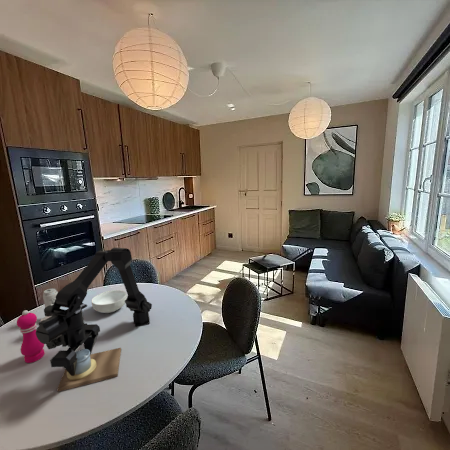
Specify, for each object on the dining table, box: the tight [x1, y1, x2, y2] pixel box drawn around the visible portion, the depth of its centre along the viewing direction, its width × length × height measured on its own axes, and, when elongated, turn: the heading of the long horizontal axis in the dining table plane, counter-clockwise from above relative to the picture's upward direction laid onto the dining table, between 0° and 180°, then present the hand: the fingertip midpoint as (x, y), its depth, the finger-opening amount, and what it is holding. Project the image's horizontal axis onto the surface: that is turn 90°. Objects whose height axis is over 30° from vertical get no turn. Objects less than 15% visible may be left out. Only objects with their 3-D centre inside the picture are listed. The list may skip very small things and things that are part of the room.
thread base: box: [56, 347, 122, 392], centre depth 89 cm, size 18×14×2 cm
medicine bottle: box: [39, 304, 53, 322], centre depth 113 cm, size 7×7×12 cm
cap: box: [75, 348, 91, 374], centre depth 86 cm, size 6×6×5 cm
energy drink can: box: [42, 288, 62, 309], centre depth 122 cm, size 6×6×15 cm
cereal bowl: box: [91, 289, 128, 314], centre depth 130 cm, size 17×17×7 cm
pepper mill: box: [16, 310, 46, 364], centre depth 94 cm, size 7×7×20 cm
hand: (81, 365), depth 87 cm, fingers open, 9 cm apart
